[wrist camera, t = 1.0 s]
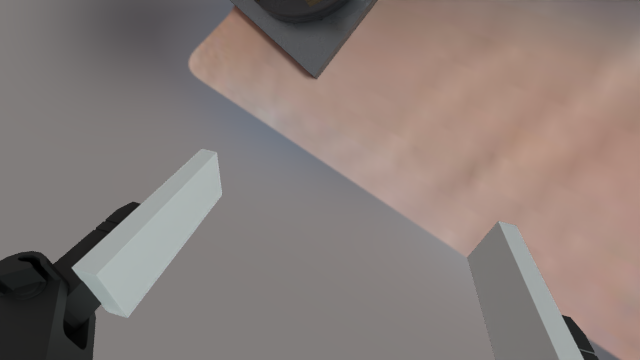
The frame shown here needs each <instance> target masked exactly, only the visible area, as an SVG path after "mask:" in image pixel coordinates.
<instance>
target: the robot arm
mask: <svg viewBox="0 0 640 360" xmlns="http://www.w3.org/2000/svg"><path fill="white" fill-rule="evenodd" d="M221 196H222V189H221V182H220V174H219V167H218V159H217V153H216V152H213V151H209V150H205V149H201V150H200V151H199V152H197V154H196V155H194V156H193V157H192V158H191V159H190V160H189V161H188V162H187V163H185V164H184V165H183V166H182V167H181V168H180V169H179V170H178V171H177V172H176V173H175V174H173V175H172V176H171V177H170V178H169V179H168V180H167V181H166V182H165V183H164V184H163V185H162V186H160V187H159V188H158V189H157V190H156V191H155V192H154V193H153V194H152V195H150V196H149V197H148V198H147V199H146V200H145V201H144V202H143V203H142V204H139V203H136V202H132V203H129V204H127V205H125V206H123V207H121V208H119V209H118V210H116V211H115V212H114V213H113V214H112V215H110V216H109V217H108V218H107V219H106V221H105V222H102V223H101V224H100V225H99V226H98V227H96V230H93V231H92V232H91V233H90V234H88V235H87V236H86V237H85V238H84V239H82V240H81V241H80V242H79V243H78V244H77V245H76V246H74V247H73V248H72V249H71V250H70V251H68V252H67V253H66V254H65V255H64V256H63V257H61V258H60V259H59V260H58V261H57V262H55V263H54V264H52V263H51V262H50V261H49V260H48V259H47V257H46V256H44V255H43V254H42V253H39V252H34V251H29V252H21V253H18V254H15V255H12V256H9V257H6V258H5V259H3V260H1V261H0V360H92V359H93V347H94V334H95V320H96V316H95V312H94V311H95V310H96V309H97V308H98V307H99V306H100V305H102V306H103V307H104V308H105V309H106V311H107V312H110V313H113V314H116V315H120V316H123V317H126V318H128V317H129V315H130V314H131V313H132V311H133V310H134V309H135V307H136V306H137V305H138V304H139V302H140V301H141V300H142V298H143V297H144V295H145V294H146V293H147V292H148V291H149V289H150V288H151V287H152V285H153V284H154V283H155V282H156V280H157V279H158V277H159V276H160V275H161V274H162V272H163V271H164V270H165V268H166V267H167V266H168V265H169V263H170V262H171V261H172V259H173V258H174V257H175V255H176V254H177V253H178V252H179V250H180V249H181V248H182V246H183V245H184V244H185V242H186V241H187V240H188V239H189V237H190V236H191V235H192V233H193V232H194V231H195V229H196V228H197V227H198V226H199V224H200V223H201V222H202V220H203V219H204V218H205V216H206V215H207V214H208V213H209V211H210V210H211V208H212V207H213V206H214V205H215V203H216V202H217V201H218V199H219V198H220V197H221ZM467 258H468V262H469V266H470V269H471V273H472V277H473V280H474V283H475V287H476V291H477V295H478V298H479V302H480V305H481V309H482V312H483V317H484V320H485V324H486V327H487V331H488V334H489V338H490V342H491V346H492V349H493V353H494V357H495V360H598V358H597V356H595V355H594V350H593V348H592V347H591V345H590V343H589V341H588V339H587V337H586V335H585V334H584V333H583V332H582V330H581V329H580V328H579V327H578V326H577V325H576V323H575V322H574V321H573V320H572V319H571V317H567V316H564V315H561V313H560V311H559V309H558V307H557V305H556V303H555V301H554V299H553V297H552V295H551V294H550V292H549V290H548V288H547V286H546V284H545V282H544V280H543V278H542V276H541V274H540V272H539V270H538V268H537V266H536V264H535V262H534V260H533V258H532V256H531V254H530V252H529V250H528V248H527V246H526V244H525V242H524V240H523V238H522V236H521V234H520V232H519V230H518V228H517V226H516V225H512V224H508V223H504V222H500V221H498V222H497V223H496V224H495V225H494V227H493V228H492V229H491V230H490V231H489V233H488V234H487V235H486V236H485V237H484V238H483V240H482V241H481V242H480V243H479V244H478V246H477V247H476V248H475V249H474V250H473V251H472V253H471V254H470V255H469V256H468V257H467Z"/></svg>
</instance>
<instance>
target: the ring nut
mask: <svg viewBox="0 0 640 360" xmlns="http://www.w3.org/2000/svg"><path fill="white" fill-rule="evenodd" d="M257 1H258V2H259V1H260V0H257ZM305 1H306V2H307V4H308V5H309V7H311V6H313V5H315V4H317V3H318V2H320V1H322V0H305Z"/></svg>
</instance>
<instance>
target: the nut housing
mask: <svg viewBox="0 0 640 360" xmlns="http://www.w3.org/2000/svg"><path fill="white" fill-rule="evenodd" d="M230 1H231V2H232V3H233V4H235V5H236V6H237V7H238V8H239V9H240V10H241V11H242V12H243V13H244V14H246V15H247V16H248V17H249V18H250V19H251V20H252V21H253V22H254V23H255V24H256V25H258V26H259V27H260V28H261V29H262V30H263V31H264V32H265V33H266V34H267V35H269V36H270V37H271V38H272V39H273V40H274V41H275V42H276V43H277V44H278V45H280V46H281V47H282V48H283V49H284V50H285V51H286V52H287V53H288V54H289V55H290V56H292V57H293V58H294V59H295V60H296V61H297V62H298V63H299V64H300V65H301V66H303V67H304V68H305V69H306V70H307V71H308V72H309V73H310V74H311V75H312V76H314V77H315V78H316V79H317V78H318V77H319V76H320V74H321V73H322V72H323V70H324V69H325V68H326V66H327V65H328V64H329V63H330V61H331V60H332V59H333V57H334V56H335V55H336V54H337V52H338V51H339V50H340V48H341V47H342V46H343V44H344V43H345V42H346V41H347V39H348V38H349V37H350V35H351V34H352V33H353V32H354V30H355V29H356V28H357V26H358V25H359V24H360V22H361V21H362V20H363V19H364V17H365V16H366V15H367V13H368V12H369V11H370V9H371V8H372V7H373V6H374V4H375V3H376V2H377V0H322V1H320V2H318V3H317V4H315V5H313V6H311V7H309V5H308V4H307V2H306V1H305V0H260V1H259V2H258V1H257V0H230Z"/></svg>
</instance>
